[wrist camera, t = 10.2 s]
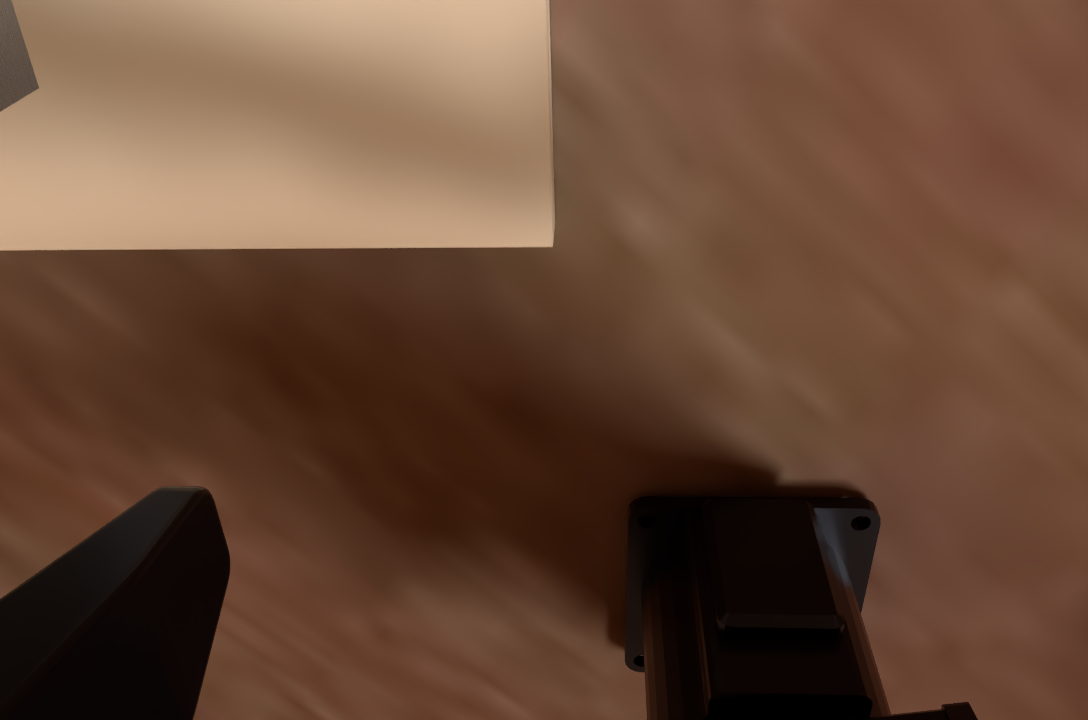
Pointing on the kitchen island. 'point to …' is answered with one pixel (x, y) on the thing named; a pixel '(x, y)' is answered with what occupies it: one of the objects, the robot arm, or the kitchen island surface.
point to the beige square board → (280, 125)
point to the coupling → (13, 59)
